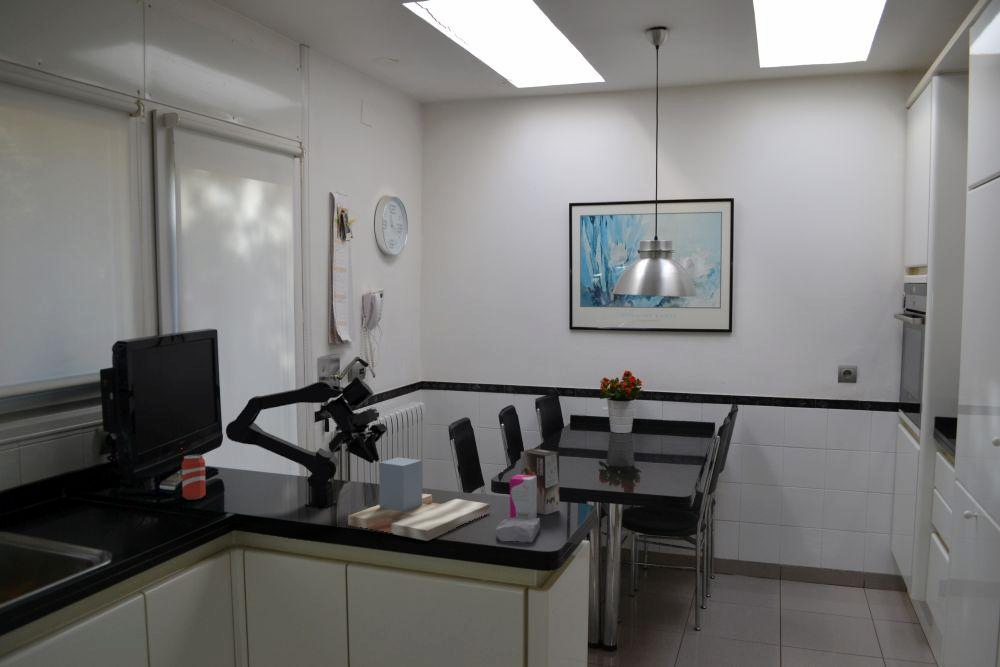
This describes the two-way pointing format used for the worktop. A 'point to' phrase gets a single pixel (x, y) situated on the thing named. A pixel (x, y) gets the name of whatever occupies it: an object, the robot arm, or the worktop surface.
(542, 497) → the coffee box
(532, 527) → the stone block
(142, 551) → the worktop surface
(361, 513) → the trap board
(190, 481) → the beverage can
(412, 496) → the slate block
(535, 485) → the supplement box
